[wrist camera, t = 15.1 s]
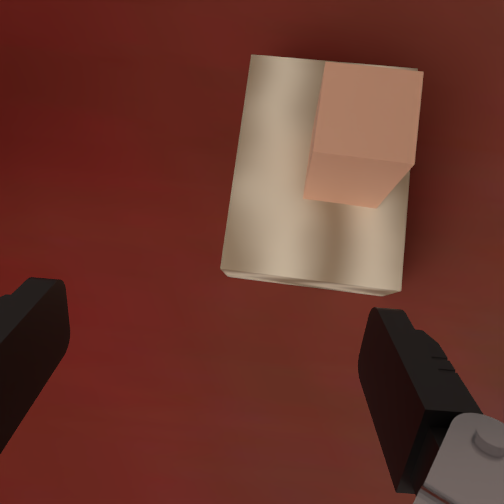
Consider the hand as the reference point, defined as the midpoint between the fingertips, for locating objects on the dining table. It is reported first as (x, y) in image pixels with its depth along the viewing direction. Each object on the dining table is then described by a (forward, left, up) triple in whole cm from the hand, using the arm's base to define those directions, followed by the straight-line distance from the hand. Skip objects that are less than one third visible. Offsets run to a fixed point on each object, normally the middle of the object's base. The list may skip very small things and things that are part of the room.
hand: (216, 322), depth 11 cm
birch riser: (+3, +11, -22) cm, 25 cm away
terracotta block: (+5, +11, -17) cm, 21 cm away
